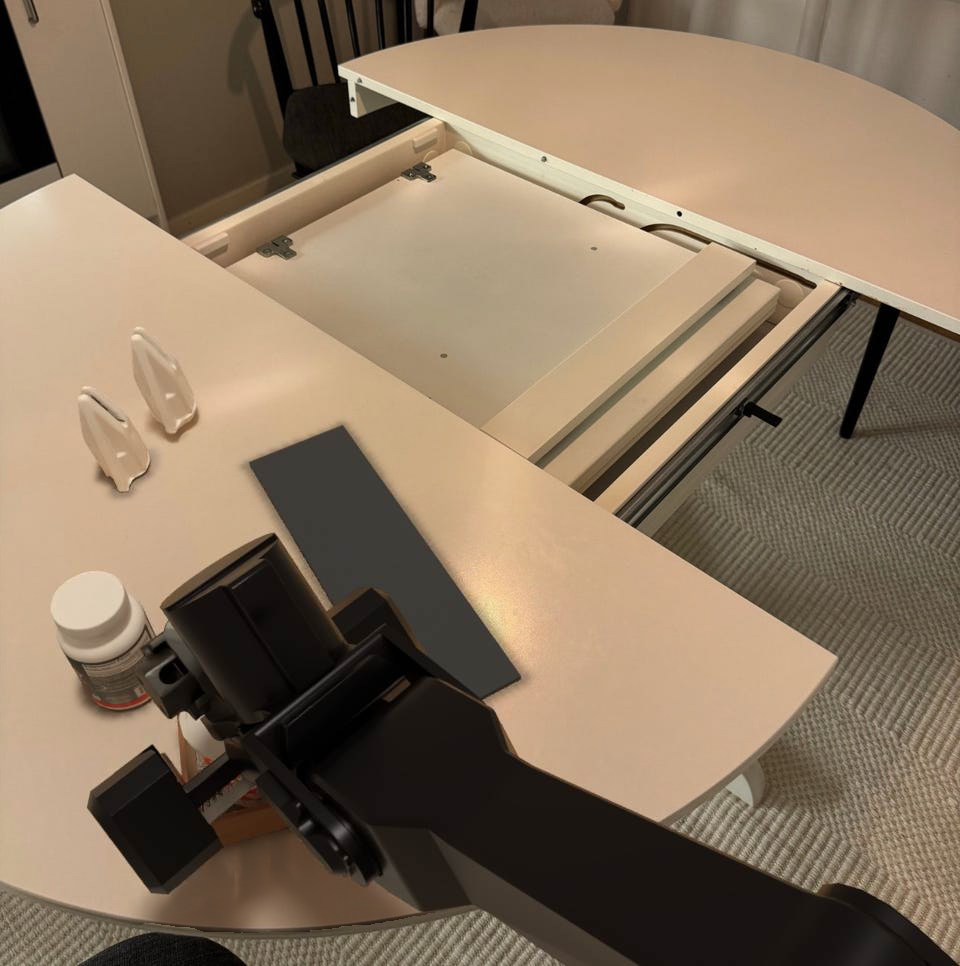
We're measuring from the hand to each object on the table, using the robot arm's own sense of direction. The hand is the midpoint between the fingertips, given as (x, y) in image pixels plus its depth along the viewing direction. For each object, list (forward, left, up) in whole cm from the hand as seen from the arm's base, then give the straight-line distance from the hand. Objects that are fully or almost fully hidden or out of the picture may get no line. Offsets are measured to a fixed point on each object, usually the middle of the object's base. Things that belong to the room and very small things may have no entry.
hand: (228, 711), depth 59 cm
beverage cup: (-1, 0, -8) cm, 8 cm away
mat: (+15, -11, -8) cm, 20 cm away
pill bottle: (+9, +8, -8) cm, 15 cm away
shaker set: (+33, +5, -8) cm, 35 cm away
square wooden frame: (-1, 0, -8) cm, 8 cm away
